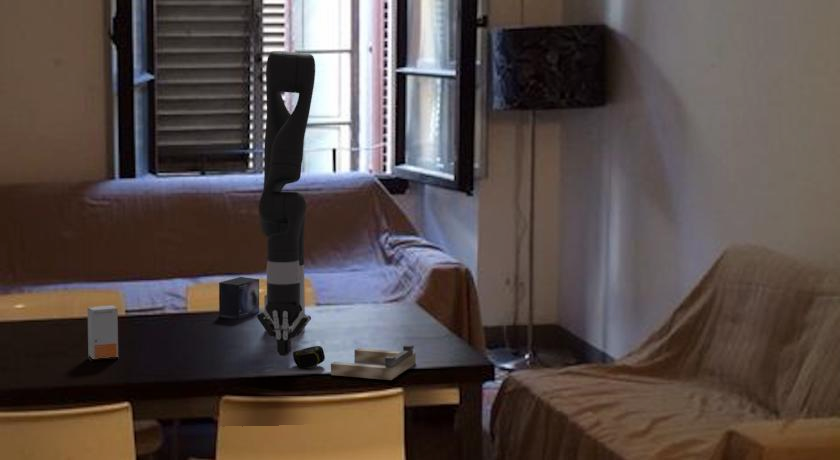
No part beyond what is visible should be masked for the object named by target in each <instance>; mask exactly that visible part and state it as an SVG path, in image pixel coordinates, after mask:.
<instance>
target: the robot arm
mask: <svg viewBox="0 0 840 460" xmlns="http://www.w3.org/2000/svg"><path fill="white" fill-rule="evenodd" d="M315 79H316V61H315V57H314V56H313V55H312V54H311V53H307V52H298V51H297V52H296V51H283V50H274V51H271V52H270V53H269V54H268V56H267V60H266V67H265V89H266V122H265V134H264V149H263V150H264V152H263V154H264V155H263V158H264V159H263V160H264V163H263V164H264V165H263V166H264V167H263V173H264V174H263V189H262V193H261V196H260V199H259V201H258V215H259V216H260V221H259V222H260V230H261V232H262V234H263V236H265V237H267V256H266V294H265V295H264V298H263V299H264V310H263V311H262V312H260V313H258V314H257V315H256V318H257V320H258V321H259V322H260V324H261V325H262V327H263V328H264V332H265V333H267V334H268V336H270V337H273V338H275V339H276V351H277V354H279V356H280V357H287V356H289V355H290V353H291V351H292V339H294V338H295V337H299V336H300V334H301V333H304V332H305V331H306V327H307V325H308V323H309V322H310V321H311V320H312V317H311V315H310V314H309V315H307V314H306V309H305V305H306V303H305V302H306V301H305V299H306V297H305V296H306V295H305V227H306V226H305V225H306V213H307V212H306V211H307V201H306V198H305V197H304V195H303V194H301V193H300V192H297V191H282V190H283V189H284V188H285V186H286V185H289V184H293V183H297V182H298V181H299V180H300V179H301V174H302V164H303V160H304V159H303V158H304V148H305V147H304V145H305V136H306V131H307V126H308V121H309V116H310V110H311V105H312V101H313V100H312V98H313V94H314V88H315V81H316V80H315ZM282 93H291V94H292V93H293V94H294V93H295V94H298V99H297V102H296V105H295V107H294V109H293V111H292V113H290V112H289V110H288V109H287V106H286V104H285V102H284V99H283V96H282Z"/></svg>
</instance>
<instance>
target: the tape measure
mask: <svg viewBox="0 0 840 460" xmlns="http://www.w3.org/2000/svg"><path fill="white" fill-rule="evenodd" d="M325 355H326V354H325V351H324V349H323V347H322V346H320V345H314V346H309V347H306V348H302V349H299V350H296V351H293V352H292V357H293V361H294V363H295V365H296V367H297V368H299V369H305V368H306V369H307V368H308V369H311V368H315V367H318V365H320V364H321V363H323V362H324V361H325V359H326V357H325Z"/></svg>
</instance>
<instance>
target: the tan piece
mask: <svg viewBox="0 0 840 460" xmlns="http://www.w3.org/2000/svg"><path fill="white" fill-rule="evenodd" d="M402 347H403V348H402V349H403V350H401V351H399V350H398V351H397V350H387V349H386V350H385V349H384V350H383V349H373V348H358V347H357V348H355V349H354V361H355V362H363V361H368V362H367V363H375V362H377V363H379V364H385V365H379V364H367V363H365V364H364V363H354V362H353V363H352V362H341V361H333V362H332V363H330V375H331V376H341V377H350V378H351V377H352V378H363V379H374V380H386V381H392V380H394V379H395V378H397V377H399V375H401V374H402V373H404V372H405V371H407V370H409V369H410V368H411V367H413V366H414V365H415V364H416V352H414V344H405V345H403V346H402Z"/></svg>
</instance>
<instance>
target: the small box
mask: <svg viewBox="0 0 840 460" xmlns="http://www.w3.org/2000/svg"><path fill="white" fill-rule="evenodd" d="M218 284H219V285H218V313H219V314H218V317H219V318H227V319H232V320H233V319H234V320H240V319H242V318H246V317H248V316H252V315H254V314H257V313H259V312H260V279H258V278H253V277H247V276H246V277H245V276H239V277H235V278H232V279H227V280H224V281H220V282H218Z"/></svg>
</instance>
